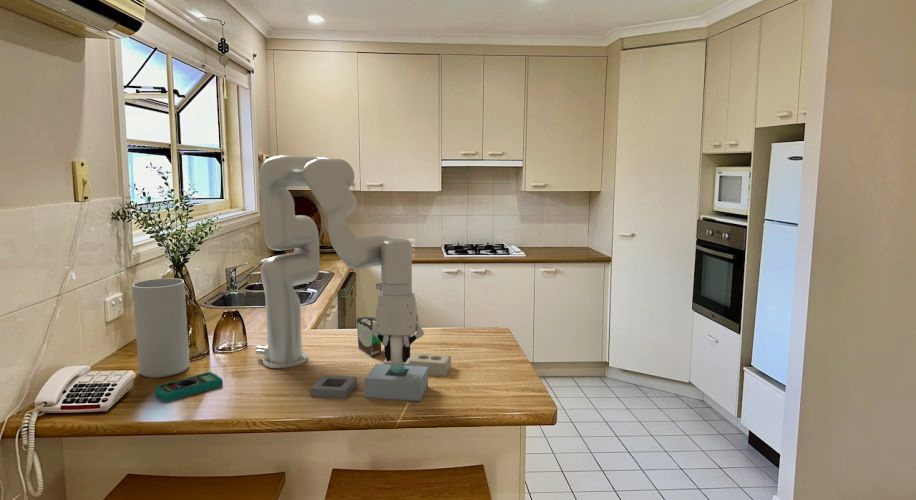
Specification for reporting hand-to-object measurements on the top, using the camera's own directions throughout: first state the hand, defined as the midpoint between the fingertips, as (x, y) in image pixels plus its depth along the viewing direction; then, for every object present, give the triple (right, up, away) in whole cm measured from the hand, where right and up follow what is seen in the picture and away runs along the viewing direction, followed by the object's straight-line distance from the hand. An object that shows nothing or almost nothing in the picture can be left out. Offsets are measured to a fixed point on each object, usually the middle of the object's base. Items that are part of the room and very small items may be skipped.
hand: (397, 359), depth 139 cm
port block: (0, -9, +1) cm, 9 cm away
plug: (0, -3, 0) cm, 3 cm away
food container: (-11, -4, +33) cm, 35 cm away
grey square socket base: (-16, -9, +2) cm, 18 cm away
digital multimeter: (-53, -9, +2) cm, 54 cm away
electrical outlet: (+4, -7, +18) cm, 20 cm away
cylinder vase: (-67, -6, +15) cm, 69 cm away
